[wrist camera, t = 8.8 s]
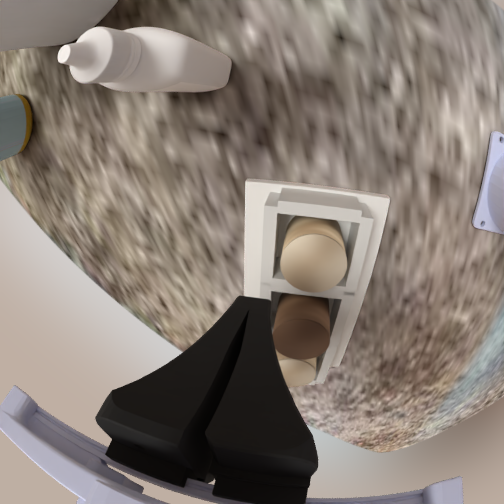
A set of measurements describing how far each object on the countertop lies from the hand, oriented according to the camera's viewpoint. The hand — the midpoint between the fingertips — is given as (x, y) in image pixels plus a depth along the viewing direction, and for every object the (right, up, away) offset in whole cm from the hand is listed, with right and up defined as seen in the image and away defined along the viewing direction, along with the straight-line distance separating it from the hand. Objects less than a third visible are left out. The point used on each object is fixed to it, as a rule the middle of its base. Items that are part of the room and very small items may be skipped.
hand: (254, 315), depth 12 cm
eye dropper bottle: (-4, +15, +4) cm, 16 cm away
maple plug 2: (+4, -6, +14) cm, 15 cm away
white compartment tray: (+4, 0, +11) cm, 12 cm away
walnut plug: (+4, -1, +10) cm, 11 cm away
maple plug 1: (+4, +4, +8) cm, 10 cm away
